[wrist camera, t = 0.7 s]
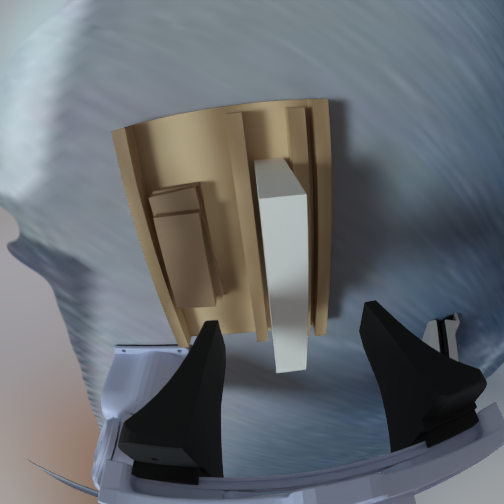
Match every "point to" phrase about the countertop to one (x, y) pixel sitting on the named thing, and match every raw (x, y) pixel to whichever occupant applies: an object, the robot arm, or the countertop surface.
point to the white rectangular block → (285, 259)
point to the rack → (233, 201)
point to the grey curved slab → (443, 336)
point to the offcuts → (186, 245)
